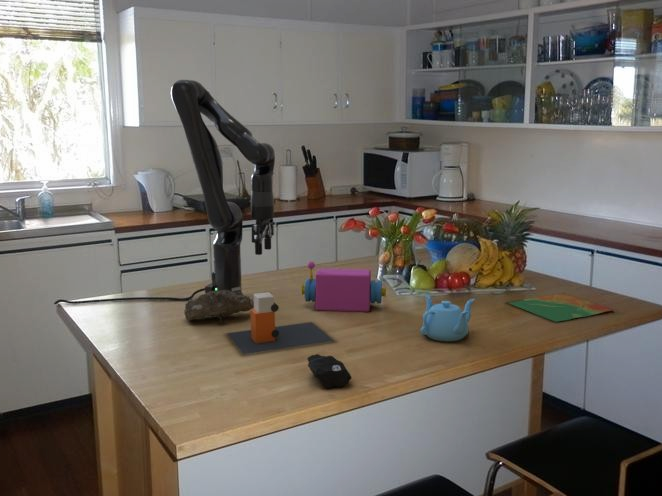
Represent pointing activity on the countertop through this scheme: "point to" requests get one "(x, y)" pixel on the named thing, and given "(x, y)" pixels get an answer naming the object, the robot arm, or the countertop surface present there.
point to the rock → (328, 370)
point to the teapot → (445, 320)
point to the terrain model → (560, 307)
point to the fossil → (217, 304)
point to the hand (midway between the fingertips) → (263, 251)
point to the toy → (342, 289)
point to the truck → (263, 318)
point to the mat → (281, 338)
